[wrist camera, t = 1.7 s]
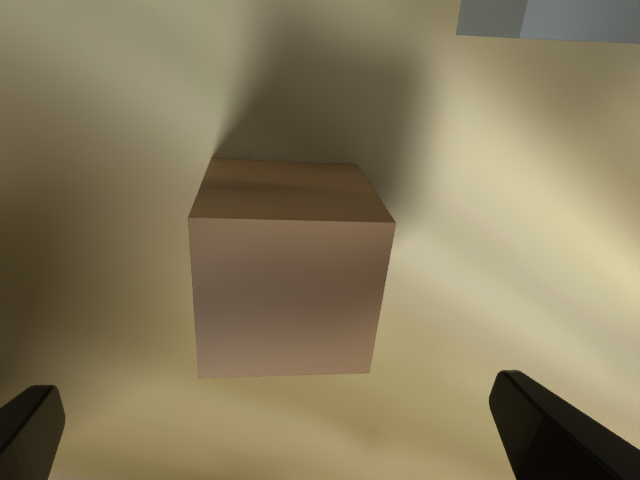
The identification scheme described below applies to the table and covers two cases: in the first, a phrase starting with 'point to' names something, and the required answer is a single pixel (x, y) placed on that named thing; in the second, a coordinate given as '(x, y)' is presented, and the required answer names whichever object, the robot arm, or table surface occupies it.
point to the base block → (552, 19)
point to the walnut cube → (287, 268)
